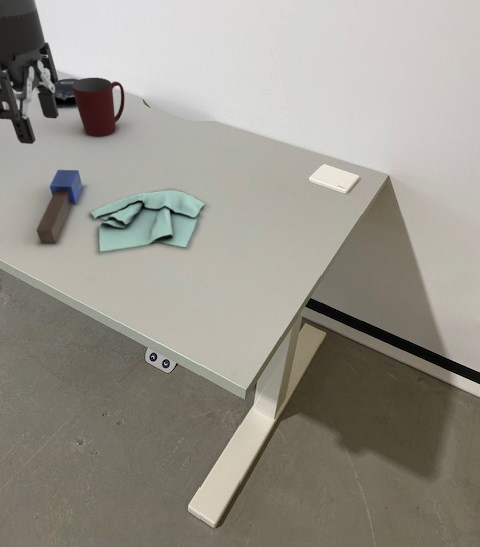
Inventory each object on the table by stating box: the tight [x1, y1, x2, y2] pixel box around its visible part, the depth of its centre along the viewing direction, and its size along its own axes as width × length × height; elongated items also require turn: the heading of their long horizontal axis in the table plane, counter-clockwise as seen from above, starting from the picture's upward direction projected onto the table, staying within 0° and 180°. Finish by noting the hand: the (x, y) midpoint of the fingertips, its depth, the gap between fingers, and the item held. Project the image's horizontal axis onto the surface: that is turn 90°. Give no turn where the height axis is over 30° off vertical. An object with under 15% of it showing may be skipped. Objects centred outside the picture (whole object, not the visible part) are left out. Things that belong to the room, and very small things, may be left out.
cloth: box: [91, 189, 206, 253], centre depth 79 cm, size 20×22×2 cm
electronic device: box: [53, 77, 79, 108], centre depth 117 cm, size 9×6×15 cm
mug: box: [72, 77, 125, 137], centre depth 102 cm, size 12×9×11 cm
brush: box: [36, 169, 84, 245], centre depth 78 cm, size 4×18×4 cm, turn 3°
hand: (40, 129), depth 64 cm, fingers open, 8 cm apart
